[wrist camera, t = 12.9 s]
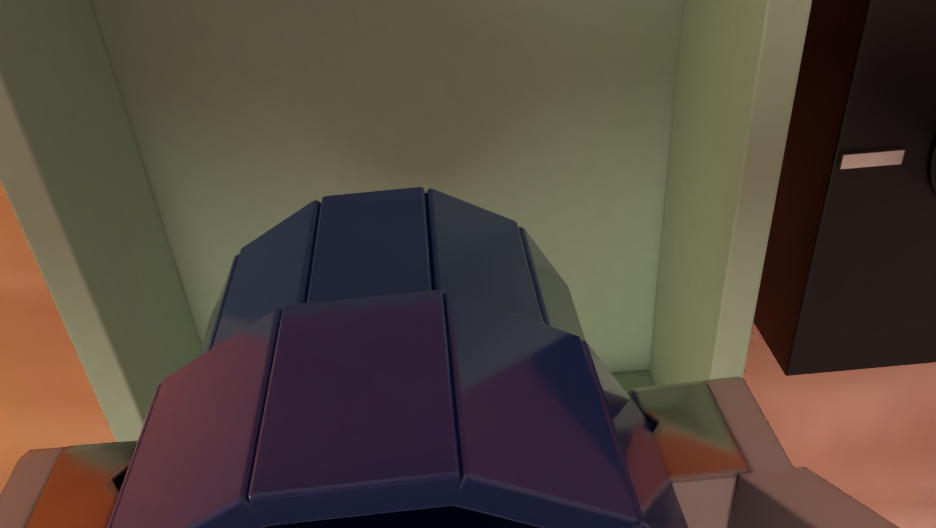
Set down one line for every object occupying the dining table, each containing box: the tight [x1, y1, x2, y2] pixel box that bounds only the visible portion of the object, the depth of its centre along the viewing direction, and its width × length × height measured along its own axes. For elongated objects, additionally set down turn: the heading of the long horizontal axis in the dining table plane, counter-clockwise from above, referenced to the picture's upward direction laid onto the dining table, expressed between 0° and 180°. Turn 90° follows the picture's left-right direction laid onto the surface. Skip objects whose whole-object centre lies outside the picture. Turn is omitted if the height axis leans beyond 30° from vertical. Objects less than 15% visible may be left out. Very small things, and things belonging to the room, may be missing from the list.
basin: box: [0, 0, 812, 442], centre depth 18 cm, size 18×15×5 cm
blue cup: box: [106, 187, 688, 528], centre depth 10 cm, size 6×6×6 cm
